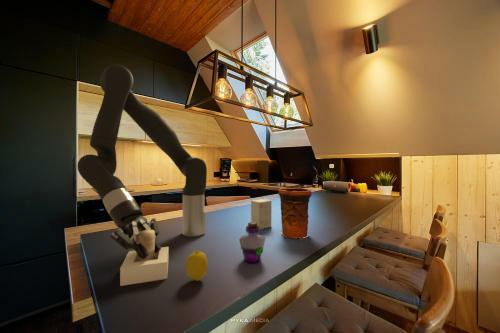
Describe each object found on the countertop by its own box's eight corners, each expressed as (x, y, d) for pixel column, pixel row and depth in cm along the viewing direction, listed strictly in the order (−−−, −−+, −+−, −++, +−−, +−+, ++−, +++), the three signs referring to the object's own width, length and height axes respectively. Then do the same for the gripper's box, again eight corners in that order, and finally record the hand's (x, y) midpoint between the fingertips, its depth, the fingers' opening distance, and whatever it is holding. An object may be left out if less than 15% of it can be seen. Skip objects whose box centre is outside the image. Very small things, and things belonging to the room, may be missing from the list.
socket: (168, 260, 68) (168, 246, 68) (167, 278, 57) (167, 261, 57) (129, 265, 64) (129, 251, 64) (120, 285, 54) (120, 268, 54)
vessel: (273, 237, 90) (274, 189, 90) (281, 228, 103) (282, 187, 104) (308, 242, 85) (309, 191, 85) (312, 232, 98) (313, 188, 98)
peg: (155, 262, 63) (155, 229, 63) (153, 269, 60) (154, 233, 59) (140, 264, 62) (140, 230, 62) (137, 271, 58) (137, 234, 58)
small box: (263, 224, 109) (263, 198, 109) (271, 227, 104) (272, 200, 104) (250, 226, 105) (250, 200, 104) (258, 230, 99) (259, 202, 99)
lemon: (188, 275, 59) (188, 246, 59) (208, 274, 60) (209, 246, 59) (184, 287, 54) (184, 255, 53) (206, 286, 54) (206, 254, 54)
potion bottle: (257, 269, 63) (257, 228, 63) (233, 261, 68) (233, 223, 67) (270, 258, 70) (270, 221, 70) (248, 252, 75) (248, 217, 75)
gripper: (104, 202, 57) (136, 256, 52) (148, 195, 70) (177, 238, 65) (91, 220, 59) (122, 273, 54) (136, 210, 72) (164, 252, 68)
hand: (152, 253), depth 60 cm, fingers closed on peg, 3 cm apart
